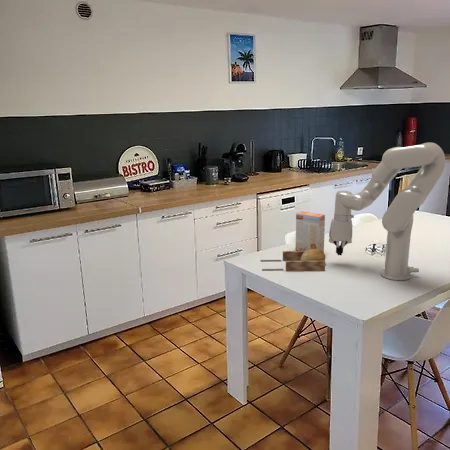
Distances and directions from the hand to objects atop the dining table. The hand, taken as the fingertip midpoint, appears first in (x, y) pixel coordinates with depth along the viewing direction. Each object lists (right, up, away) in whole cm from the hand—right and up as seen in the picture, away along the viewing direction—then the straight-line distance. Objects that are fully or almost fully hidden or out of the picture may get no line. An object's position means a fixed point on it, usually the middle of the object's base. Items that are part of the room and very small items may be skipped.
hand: (339, 254), depth 215 cm
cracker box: (-11, -1, +19) cm, 22 cm away
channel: (-17, -5, +1) cm, 18 cm away
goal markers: (-32, -5, +2) cm, 33 cm away
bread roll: (-12, -6, +1) cm, 13 cm away
